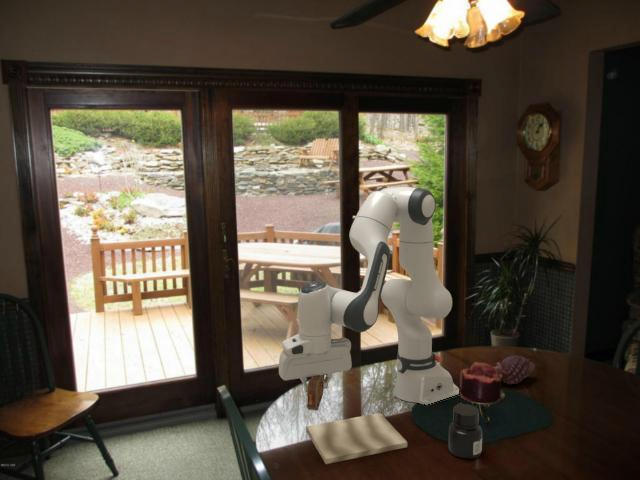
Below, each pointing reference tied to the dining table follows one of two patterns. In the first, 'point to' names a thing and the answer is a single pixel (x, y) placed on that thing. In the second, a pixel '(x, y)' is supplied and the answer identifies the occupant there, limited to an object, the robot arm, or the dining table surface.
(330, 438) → the birch board
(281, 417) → the dining table surface
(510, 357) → the pine cone
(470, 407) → the ink bottle
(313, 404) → the tin
